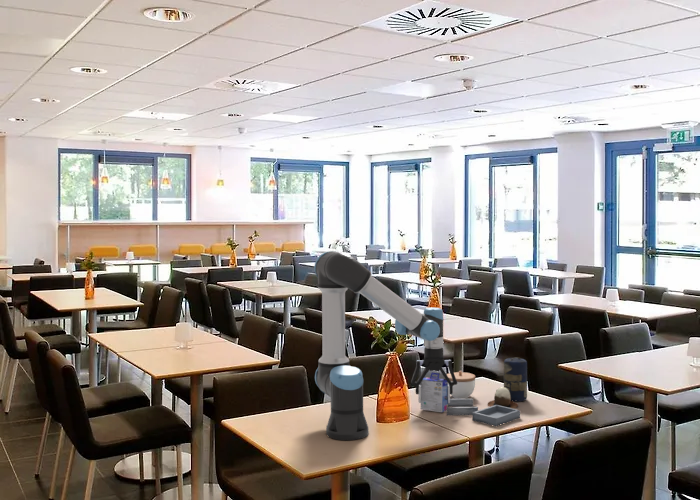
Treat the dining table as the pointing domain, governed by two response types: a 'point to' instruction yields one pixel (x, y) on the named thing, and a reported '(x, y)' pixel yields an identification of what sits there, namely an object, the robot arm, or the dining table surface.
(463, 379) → the lidded bowl
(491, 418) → the tray
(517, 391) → the canister
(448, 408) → the dock rails
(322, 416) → the dining table surface
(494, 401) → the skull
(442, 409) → the ink cartridge box
